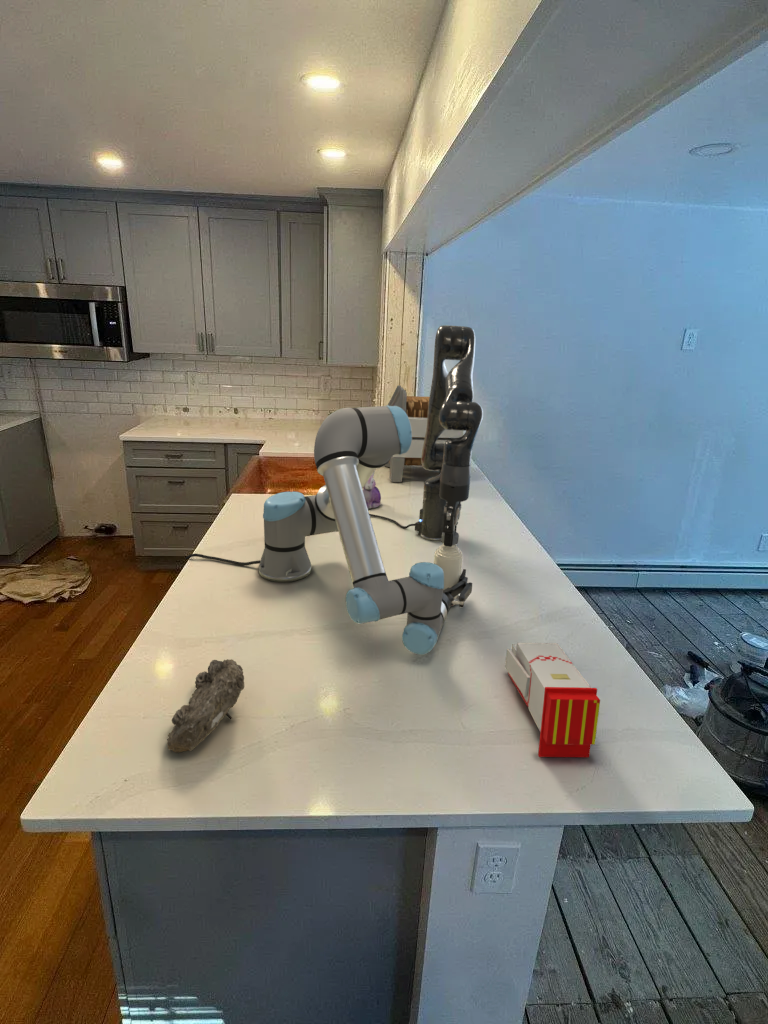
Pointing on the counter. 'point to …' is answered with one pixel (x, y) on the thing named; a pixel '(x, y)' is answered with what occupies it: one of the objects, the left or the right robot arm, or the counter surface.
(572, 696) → the toy
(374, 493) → the figurine
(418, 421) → the transformer
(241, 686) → the fossil
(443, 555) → the ribbed frosted cylinder
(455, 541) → the cap
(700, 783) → the counter surface
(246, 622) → the counter surface
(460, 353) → the right robot arm
